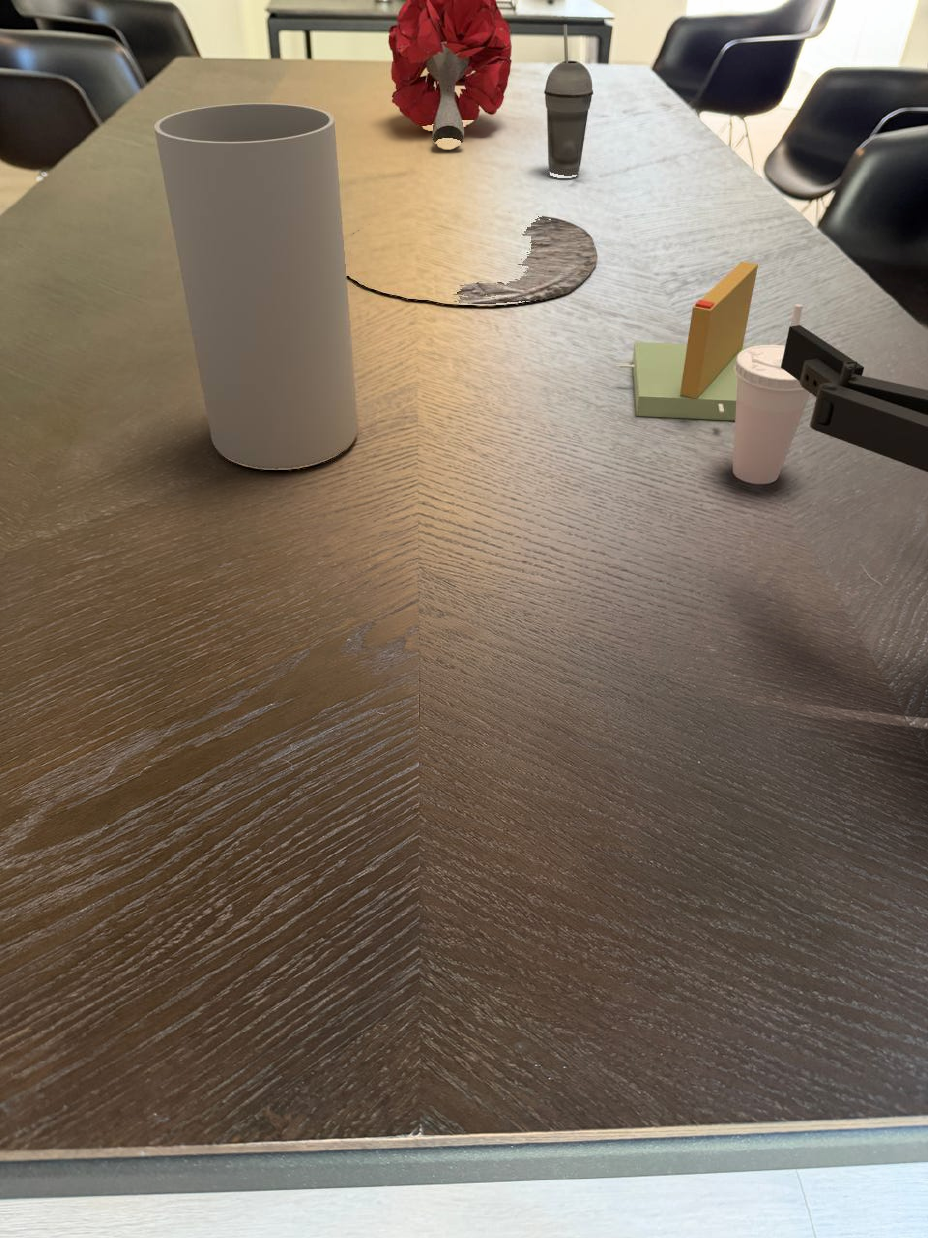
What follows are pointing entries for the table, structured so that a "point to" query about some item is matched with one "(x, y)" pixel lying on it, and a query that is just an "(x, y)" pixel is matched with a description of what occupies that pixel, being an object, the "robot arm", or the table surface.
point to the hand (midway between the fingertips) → (881, 331)
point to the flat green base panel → (678, 385)
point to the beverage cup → (567, 114)
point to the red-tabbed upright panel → (717, 329)
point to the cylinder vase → (264, 277)
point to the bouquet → (449, 62)
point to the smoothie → (765, 411)
